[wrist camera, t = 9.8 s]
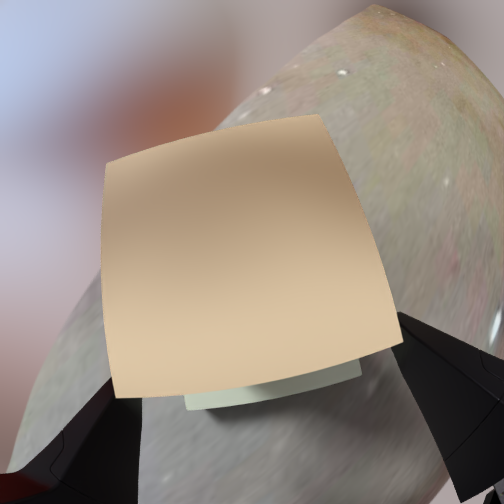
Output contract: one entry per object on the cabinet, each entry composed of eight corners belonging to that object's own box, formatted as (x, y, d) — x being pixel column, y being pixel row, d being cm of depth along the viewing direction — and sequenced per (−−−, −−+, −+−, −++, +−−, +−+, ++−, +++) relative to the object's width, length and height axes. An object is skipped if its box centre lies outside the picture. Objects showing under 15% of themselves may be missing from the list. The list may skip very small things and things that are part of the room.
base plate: (351, 371, 17) (362, 375, 15) (197, 402, 17) (186, 410, 15) (314, 228, 21) (319, 213, 18) (173, 258, 21) (162, 246, 18)
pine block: (311, 344, 16) (403, 341, 4) (221, 363, 16) (116, 398, 4) (290, 259, 17) (318, 114, 6) (205, 277, 17) (106, 163, 6)
